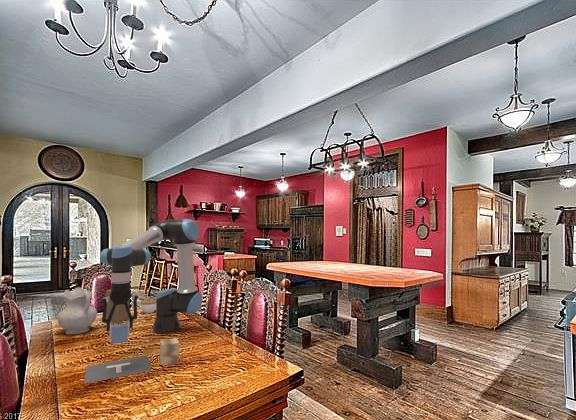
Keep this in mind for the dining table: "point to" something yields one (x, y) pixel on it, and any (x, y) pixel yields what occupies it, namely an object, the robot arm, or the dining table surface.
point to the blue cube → (119, 333)
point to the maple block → (169, 351)
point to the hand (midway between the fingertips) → (119, 337)
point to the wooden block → (116, 310)
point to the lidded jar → (148, 306)
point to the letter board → (117, 369)
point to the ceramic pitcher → (77, 312)
